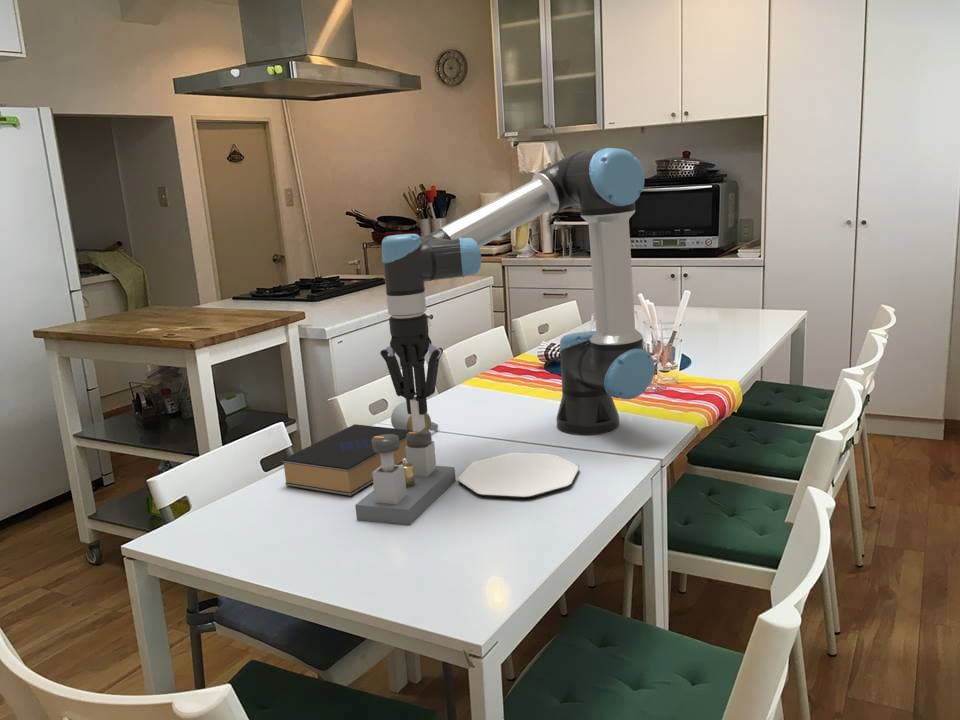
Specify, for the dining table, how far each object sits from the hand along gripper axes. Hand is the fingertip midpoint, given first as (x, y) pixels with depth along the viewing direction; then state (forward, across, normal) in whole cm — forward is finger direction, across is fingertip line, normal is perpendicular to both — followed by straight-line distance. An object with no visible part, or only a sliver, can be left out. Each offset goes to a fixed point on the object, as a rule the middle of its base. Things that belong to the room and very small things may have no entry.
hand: (419, 429), depth 163 cm
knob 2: (+9, 0, 0) cm, 9 cm away
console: (+12, 0, +7) cm, 14 cm away
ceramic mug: (+13, +17, -32) cm, 38 cm away
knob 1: (+5, 0, +14) cm, 15 cm away
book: (+13, +19, -5) cm, 24 cm away
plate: (+13, -18, -8) cm, 23 cm away
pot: (+9, 0, +7) cm, 12 cm away
